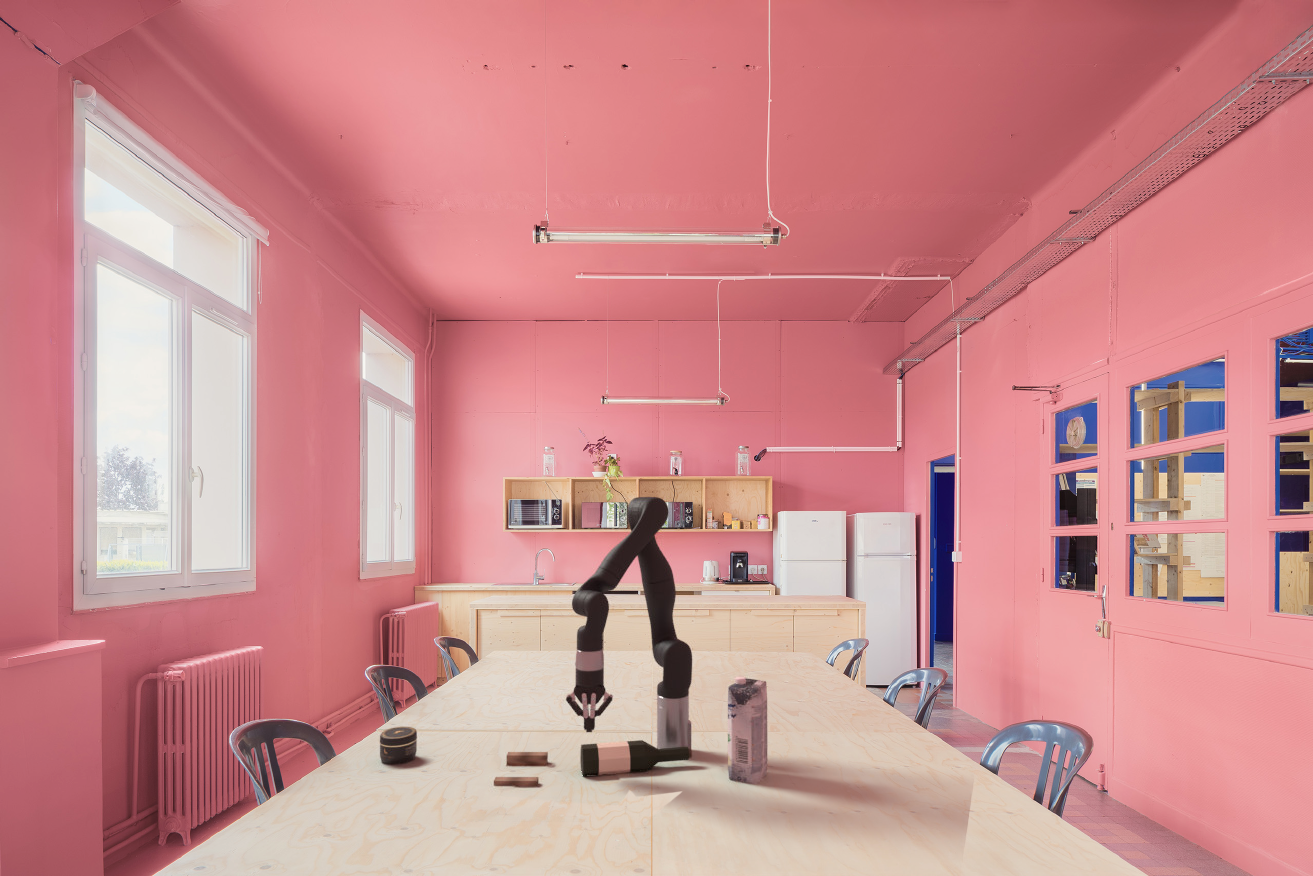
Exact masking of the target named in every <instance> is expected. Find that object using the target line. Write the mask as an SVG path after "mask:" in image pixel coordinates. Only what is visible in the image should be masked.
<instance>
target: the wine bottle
mask: <svg viewBox="0 0 1313 876" xmlns="http://www.w3.org/2000/svg"><path fill="white" fill-rule="evenodd" d="M579 753H580V755H579V756H580V762H579V763H580V772H581V771H582V772H581V775H583V776H582V777H588V776H587V775H596V776H603V775H602V774H611V775H615V774H625V773H640V772H641V773H642V772H647V771H649V770H651V769H652V768H653V767H654V766H656V765H657V764H659V763H666V762H679V761H689V759H691V758H692V757H693V752H692V747H691V748H688V747H675V748H661V749H657V747H656V746H654V745H651V744H650V743H648V742H646V741H644V740H643V739H641V740H638V739H637V740H627V741H614V742H613V741H611V742H600V743H586V744H581V745H580V752H579Z"/></svg>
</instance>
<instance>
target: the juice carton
mask: <svg viewBox="0 0 1313 876" xmlns="http://www.w3.org/2000/svg"><path fill="white" fill-rule="evenodd" d="M767 687H768V686H767V681H766V680H760V679H753V678H747V677H746V676H741V675H740V676H735V677H734V683H733V684H730V685H729V686H728V687H727V688H728V689H727V691H728V693H727V769H728V771H727V772H728V773H727V774H728V779H729V780H730V781H732V782H740V783H746V784H752V785H753V784H754V785H755V784H759V783H760V782H761V780H762V779H763V778H764V777H766V775H767V771H768V691H767Z"/></svg>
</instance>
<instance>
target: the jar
mask: <svg viewBox="0 0 1313 876" xmlns="http://www.w3.org/2000/svg"><path fill="white" fill-rule="evenodd" d="M417 734H418V731H417V729H416V728H415V727H411V726H395V727H391V728H388V729H385V730H383V731H381V733H380V735H379V757H380V760H381V763H383V764H386V765H402V764H406V763H409V762H412V761H413V760H415V758H416V756H417V755H416V754H417V749H418V747H417V744H418V735H417Z"/></svg>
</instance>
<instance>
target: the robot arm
mask: <svg viewBox="0 0 1313 876" xmlns="http://www.w3.org/2000/svg"><path fill="white" fill-rule="evenodd" d="M669 513H670V512H669V506H668V504H667V502H666V501H665V500H664V498H661V497H657V496H638V497H634V498H632V499H631V500H630V501H629V503H628V506H627V513H626V514H627V521H628V526H629V528H630V532H629V533H628V534H627V536H625V538H623V539H622V540H621V541H619V543H618V544H616V545H615V546H614V547H613V548H612V549H611V550H610V551H609V552H608V553H607V555H606V556H605V557H604V558H603V560H602V561H601V563H600V564H599V565H598V568H597V569H596V570H595V572H594V573H593V574H592V575H591V576H590V577H589V578H588V579H586V580H585V582H584V583H582V584H581V586H580V587H579V588H577V590H576V591H575V593H574V595H573V597H572V601H571V607H572V610H573V613H575V614H577V615H579V616H582V617H584V618H585V617H586V620H585V621H586V622H585V625H581V626H580V627H579V628H578V629H577V631H576V653H575V663H574V664H575V665H574V666H575V686H574V688H573V691H572V692H571V693H569V694H567V695H566V698H565V702H567V704H568V705H569V707H570V708H571V709H572V710H573V711H574V713H575V714H576V715H577V716H578V717H583V729H584V731H586V733H592V732H593V731H594V730H595V728H596V717H601V715H602V714H603V713H604V712H605V710H606V709H607V708H608V707H609V705H610V704H611V703H612V701H613V697H614V695H613V694H609V693H608V692H607V690H606V687H605V680H604V679H605V678H604V676H605V673H604V672H605V655H604V633H605V632H604V630H605V629H606V624H607V620H608V616H609V612H610V611H609V610H610V603H609V600H608V598H607V596H606V595H605V594H604V593H605V592H610V591H613V590H615V589H616V588H617V587H618V585H619V583H620V582H621V580H622V579H623V577H624V575H625V574H626V572H627V571H628V569H629V567H630V566H631V565H632V563H633V562H634V560H635V559H636V558H637V561H638V564H639V569H640V570H639V571H640V576H641V582H642V583H641V584H642V589H643V593H644V599H645V603H646V608H647V614H648V619H649V625H650V634H651V635H650V636H651V647H652V649H651V650H652V655H653V658H654V660H655V662H656V663H657V665H658V666H660V667H661V668H662V671H663V672H662V680H661V681H659V683H658V684H657V687H656V693H657V694H656V722H657V723H656V748H657V749H661V748H675V747H688V748H691V749H692V721H691V720H690V718H689V717H690V711H689V709H690V708H689V707H690V704H689V703H690V700H689V699H690V698H689V697H690V688H691V685H692V679H693V676H692V675H693V653H692V649H691V647H690V645H689V644H688V643H687V642H685V641H683V640H681V639H679V638H678V637H677V636H678V635H677V632H676V628H675V623H674V618H673V616H674V608H675V602H676V596H677V595H676V594H677V591H676V590H677V589H676V584H675V577H674V574H673V570H672V567H671V565H670V562H669V561H668V560H667V558H666V557H665V555H664V553H663V551H662V550H661V548H660V546H659V545H658V542H657V539H656V536H655V535H656V534H657V533H658V532H659V531H660V530H661V529H662V527H663V526H664V525H665V523H666V522H667V520H668V518H669ZM602 698H603V699H602ZM601 699H602V700H603V702H602V704H601V705H600V706H599V707H598V708H597V709H596V707H597V705H598V704H599V702H600V701H601ZM576 700H578V702H579V703H580V704H581V705H582V708H581V706H580V705H579V704H578V702H577V701H576ZM589 705H590V709H589ZM589 710H590V711H589Z"/></svg>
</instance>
